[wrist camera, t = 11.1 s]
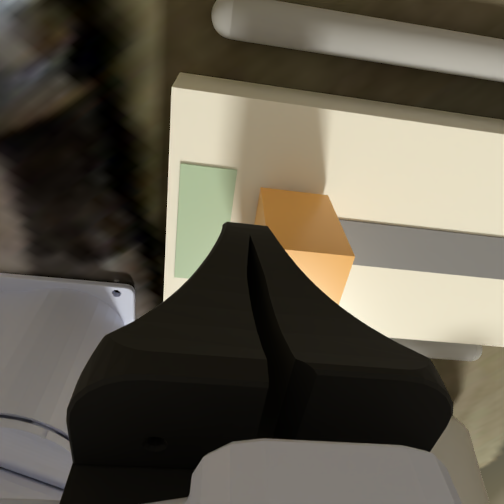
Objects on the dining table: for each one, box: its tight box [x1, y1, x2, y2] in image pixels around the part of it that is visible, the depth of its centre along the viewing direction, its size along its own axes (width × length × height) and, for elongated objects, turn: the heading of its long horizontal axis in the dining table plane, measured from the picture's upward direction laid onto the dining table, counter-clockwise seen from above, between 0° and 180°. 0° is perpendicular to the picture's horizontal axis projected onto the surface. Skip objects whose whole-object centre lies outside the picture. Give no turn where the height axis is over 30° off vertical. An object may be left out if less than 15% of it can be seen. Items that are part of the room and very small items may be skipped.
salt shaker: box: [430, 415, 490, 504], centre depth 28 cm, size 6×6×13 cm
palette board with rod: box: [211, 0, 504, 361], centre depth 22 cm, size 20×19×2 cm
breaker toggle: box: [254, 187, 355, 305], centre depth 17 cm, size 3×5×5 cm, turn 171°
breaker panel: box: [163, 72, 504, 347], centre depth 21 cm, size 22×12×3 cm, turn 82°
